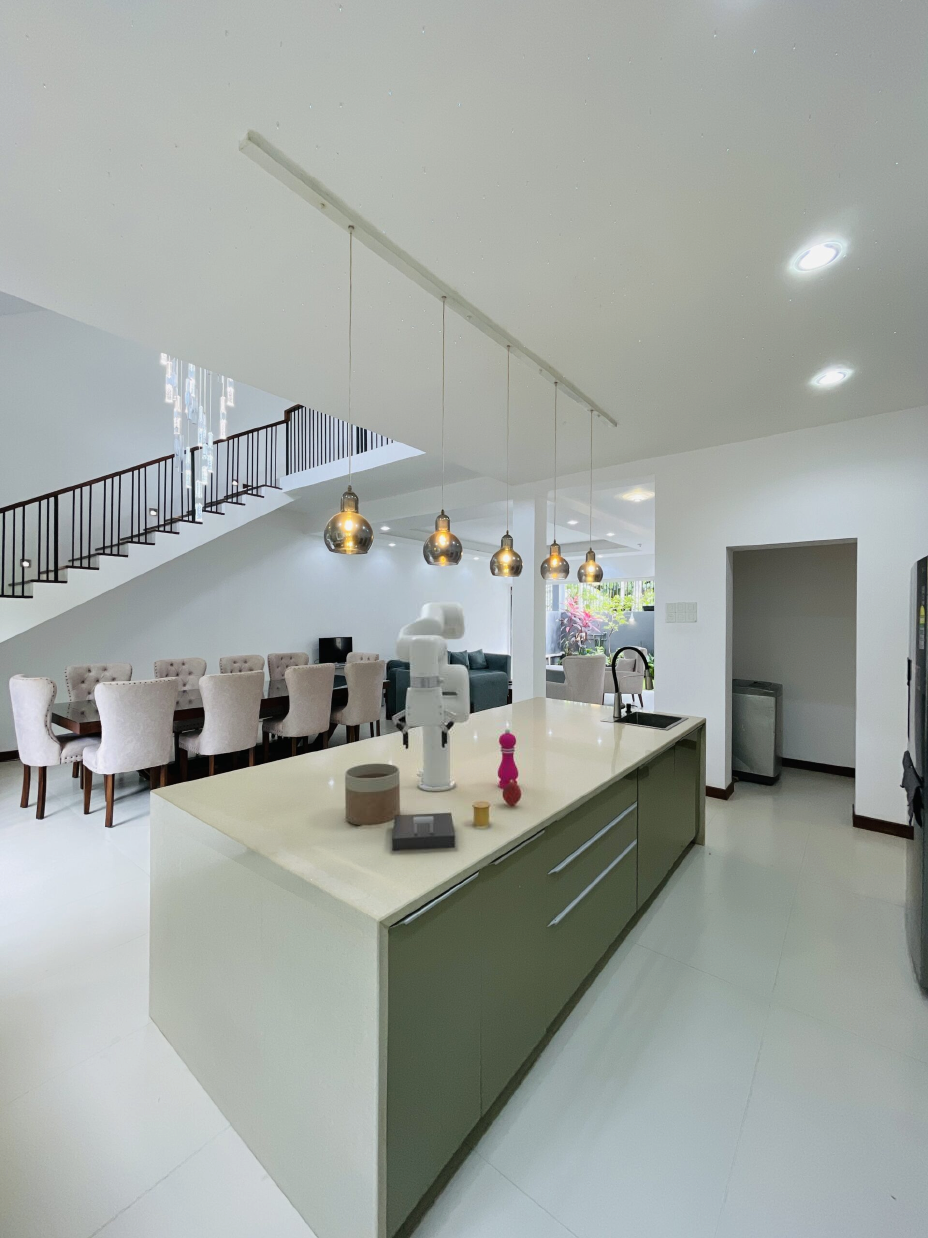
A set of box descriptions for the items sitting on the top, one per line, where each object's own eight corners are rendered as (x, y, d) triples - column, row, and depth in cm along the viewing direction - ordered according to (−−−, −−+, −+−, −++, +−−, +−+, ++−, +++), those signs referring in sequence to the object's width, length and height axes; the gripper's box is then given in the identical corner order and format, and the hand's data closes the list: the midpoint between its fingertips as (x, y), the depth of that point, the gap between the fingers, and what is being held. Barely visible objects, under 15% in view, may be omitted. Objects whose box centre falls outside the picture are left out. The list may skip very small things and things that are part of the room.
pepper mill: (496, 783, 183) (495, 727, 183) (516, 782, 183) (515, 726, 183) (499, 790, 176) (498, 731, 176) (520, 789, 176) (519, 730, 176)
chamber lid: (455, 838, 129) (454, 819, 129) (392, 841, 127) (391, 822, 127) (451, 815, 144) (451, 798, 144) (395, 818, 143) (394, 800, 143)
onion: (520, 809, 157) (519, 783, 157) (501, 808, 158) (501, 782, 158) (522, 803, 162) (521, 777, 163) (503, 802, 164) (503, 777, 164)
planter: (353, 832, 142) (353, 781, 142) (339, 813, 156) (339, 767, 156) (407, 821, 149) (407, 773, 149) (389, 804, 163) (389, 760, 163)
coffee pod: (469, 826, 145) (468, 805, 145) (480, 821, 148) (479, 800, 148) (482, 830, 141) (482, 809, 141) (493, 825, 145) (493, 804, 145)
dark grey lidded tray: (454, 850, 129) (454, 837, 129) (392, 853, 128) (392, 840, 128) (451, 827, 144) (451, 815, 144) (395, 830, 143) (395, 818, 143)
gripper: (455, 680, 142) (456, 743, 141) (392, 682, 140) (393, 745, 140) (457, 683, 134) (458, 749, 134) (390, 685, 133) (391, 752, 133)
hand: (425, 747), depth 137 cm, fingers open, 9 cm apart
